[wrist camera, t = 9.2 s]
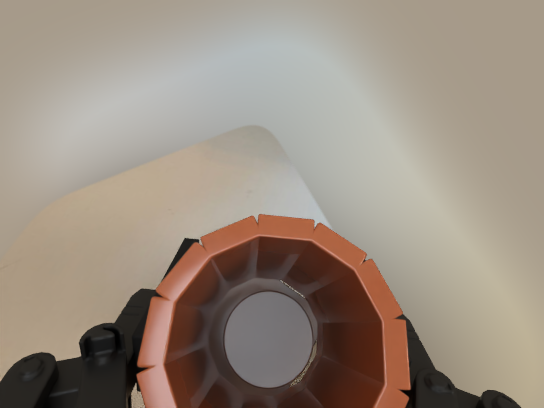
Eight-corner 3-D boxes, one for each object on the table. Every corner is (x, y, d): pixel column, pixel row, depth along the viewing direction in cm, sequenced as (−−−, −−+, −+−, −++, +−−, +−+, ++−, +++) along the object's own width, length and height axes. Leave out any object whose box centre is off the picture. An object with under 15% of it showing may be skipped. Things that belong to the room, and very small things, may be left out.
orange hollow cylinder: (353, 315, 19) (450, 307, 10) (281, 445, 17) (321, 600, 7) (249, 242, 21) (249, 174, 11) (167, 352, 18) (77, 382, 9)
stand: (327, 317, 25) (401, 311, 13) (271, 413, 22) (298, 519, 10) (247, 259, 26) (247, 205, 14) (185, 344, 24) (119, 366, 12)
